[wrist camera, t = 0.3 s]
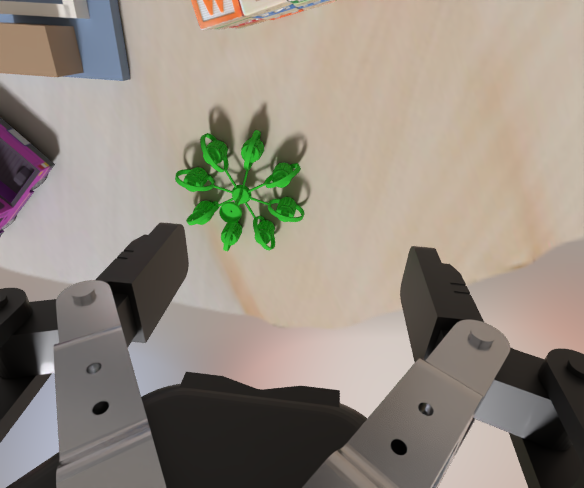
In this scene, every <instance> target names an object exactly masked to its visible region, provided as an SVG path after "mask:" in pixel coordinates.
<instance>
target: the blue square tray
mask: <svg viewBox="0 0 584 488" xmlns="http://www.w3.org/2000/svg"><path fill="white" fill-rule="evenodd" d="M0 73H7V74H21V75H35V76H49V77H61V76H63V77H77V78H91V79H105V80H119V81H124V80H129V79H130V74H129V68H128V62H127V56H126V50H125V43H124V37H123V31H122V25H121V19H120V13H119V6H118V0H0Z"/></svg>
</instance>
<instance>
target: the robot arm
mask: <svg viewBox="0 0 584 488" xmlns="http://www.w3.org/2000/svg"><path fill="white" fill-rule="evenodd" d="M188 264H189V262H188V253H187V245H186V238H185V230H184V227H183V225H181V224H172V223H159V224H158V225H157V226H156V227H155V228H154V230H153V231H152V232H151V233H150V234H149V235H143V236H141V237H139V238H137V239H136V240H134V241H132V242H131V243H130V244H129V245H128V246H127V247H126V248H125V249H124V252H121V254H120V255H119V256H118V257H117V259H115V260H114V261H113V262H112V263H111V264H110V265H109V266H108V267H107V268H106V269H105V270H104V271H103V272H102V273H101V274H100V276H99V277H98V278H97V279H96V280H89V281H83V282H79V283H76V284H74V285H72V286H70V287H68V288H66V289H65V290H63V291H62V292H61V293H60V294H59V296H58V297H57V299H54V300H44V301H35V302H29V301H28V298H27V296H26V294H25V292H24V291H23V290H21V289H18V288H4V289H0V442H1V441H2V440H3V438H4V437H5V436H6V434H7V433H8V432H9V430H10V429H11V428H12V426H13V425H14V424H15V422H16V421H17V420H18V418H19V417H20V416H21V414H22V413H23V411H24V410H25V409H26V408H27V406H28V405H29V404H30V402H31V401H32V400H33V398H34V397H35V396H36V394H37V393H38V391H39V390H40V388H41V387H42V386H43V385H44V383H45V382H46V381H47V379H48V378H49V377H50V375H51V374H52V373H55V384H56V385H55V387H56V403H57V420H58V437H59V452H58V453H57V454H55V455H54V456H52V457H51V458H50V459H48V460H46V461H45V462H43V463H42V464H40V465H39V466H37V467H36V468H34V469H33V470H31V471H30V472H28V473H27V474H25V475H24V476H23V477H21V478H20V479H18V480H17V481H15V482H14V483H12V484H11V485H9V486H8V487H6V488H438V486H439V484H440V483H441V481H442V479H443V477H444V475H445V473H446V471H447V469H448V468H449V466H450V464H451V462H452V460H453V459H454V457H455V455H456V453H457V451H458V450H459V447H460V446H461V444H462V442H463V441H464V439H465V437H466V435H467V434H468V432H469V430H470V428H471V426H472V424H473V423H474V421H475V419H477V420H479V421H482V422H484V423H487V424H489V425H492V426H494V427H496V428H499V429H501V430H504V431H506V432H509V434H510V437H511V440H512V443H513V446H514V448H515V451H516V454H517V457H518V460H519V463H520V465H521V468H522V471H523V474H524V476H525V480H526V482H527V485H528V488H584V354H582V353H579V352H577V351H573V350H569V349H554V350H552V351H550V352H549V353H548V355H547V356H546V358H545V359H541V358H538V357H535V356H532V355H529V354H526V353H523V352H520V351H518V350H514V349H513V348H510V344H509V342H508V340H507V338H506V337H505V336H504V335H503V334H502V333H501V332H500V331H499V330H498V329H496V328H494V327H493V326H491V325H489V324H487V323H484V321H483V319H482V317H481V315H480V313H479V311H478V309H477V307H476V304H475V302H474V300H473V298H472V296H471V295H470V292H469V290H468V288H467V286H465V285H466V284H465V282H464V280H463V278H462V276H461V274H460V273H459V272H458V271H457V270H456V269H455V268H454V267H452V266H451V265H450V264H444V263H441V260H440V258H439V256H438V253H437V251H436V249H435V248H427V247H416V246H412V247H411V248H410V251H409V254H408V259H407V263H406V267H405V271H404V275H403V279H402V283H401V290H400V297H401V303H402V308H403V312H404V316H405V321H406V326H407V330H408V335H409V339H410V344H411V348H412V352H413V357H414V361H415V363H414V364H413V366H412V367H411V368H410V369H409V370H408V372H407V373H406V374H405V375H404V377H402V379H401V380H400V381H399V382H398V383H397V385H396V386H395V387H394V388H393V389H392V390H391V392H390V393H389V394H388V395H387V396H386V397H385V399H384V400H383V401H382V402H381V404H380V405H379V406H378V407H377V408H376V409H375V410H374V412H373V413H372V414H371V415H370V416H369V417H368V419H367V418H366V417H365V416H363V415H362V414H360V413H359V412H357V411H356V410H354V409H352V408H350V407H348V406H346V405H343V404H341V403H340V398H339V397H340V393H339V392H340V391H339V390H332V389H324V388H315V387H307V386H294V387H284V388H274V389H265V390H260V389H256V388H253V387H250V386H248V385H245V384H242V383H240V382H237V381H234V380H232V379H229V378H226V377H224V376H217V375H209V374H200V373H192V372H186V373H185V376H184V378H183V380H182V382H181V384H176V385H172V386H167V387H164V388H161V389H157V390H155V391H153V392H151V393H148V394H146V395H144V396H143V397H141V395H140V391H139V388H138V384H137V381H136V377H135V373H134V370H133V366H132V363H131V359H130V355H129V352H128V346H129V345H130V343H131V342H141V343H146V342H147V340H148V339H149V337H150V335H151V334H152V332H153V330H154V329H155V327H156V325H157V324H158V322H159V320H160V319H161V317H162V316H163V314H164V312H165V310H166V309H167V307H168V306H169V304H170V302H171V301H172V299H173V297H174V296H175V294H176V292H177V291H178V289H179V287H180V286H181V284H182V283H183V281H184V279H185V277H186V275H187V272H188Z"/></svg>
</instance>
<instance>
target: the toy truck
mask: <svg viewBox="0 0 584 488" xmlns="http://www.w3.org/2000/svg"><path fill="white" fill-rule="evenodd" d="M54 165H55V164H54V163H53V162H52V161H50V160H49V159H48V158H47V157H46V156H45V155H43V154H42V153H41V152H40V151H39V150H38V149H36V148H35V147H34V146H33V145H32V144H31V143H30V142H28V141H27V140H26V139H25V138H24V137H23V136H21V135H20V134H19V133H18V132H17V131H16V130H14V129H13V128H12V127H11V126H10V125H9V124H7V123H6V122H5V121H4V120H3V119H2V118H0V237H1V235H2V233H3V232H4V231H3V229H5V228H6V227H8V226H9V225H10V224H12V223H13V221H14V220H15V219H16V215H17V214H18V212H19V211H20V210H21V208H22V207H23V206H24V205H25V203H26V202H27V201H28V199H29V198H30V197H31V195H32V194H33V193H34V191H33V189H35V188H37V187H38V186H40V185H41V184H42V183H43V182H44V181H45V180H46V178H47V174H48V173H49V172H50V170H51V169H52V168H53V166H54Z"/></svg>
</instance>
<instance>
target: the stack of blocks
mask: <svg viewBox="0 0 584 488" xmlns="http://www.w3.org/2000/svg"><path fill="white" fill-rule="evenodd" d="M335 1H336V0H191V2H192V5H193V8H194V11H195V14H196V17H197V20H198V23H199V26H200V28H201V30H208V29H227V28H234V27H235V29H237V28H244V27H247V26H250V25H254V24H257V23H261V22H264V21H267V20H274V19H278V18H281V17H285V16H288V15H291V14H294V13H298V12H301V11H304V10H308V9H312V8H315V7H319V6H322V5H326V4H329V3H332V2H335Z"/></svg>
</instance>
